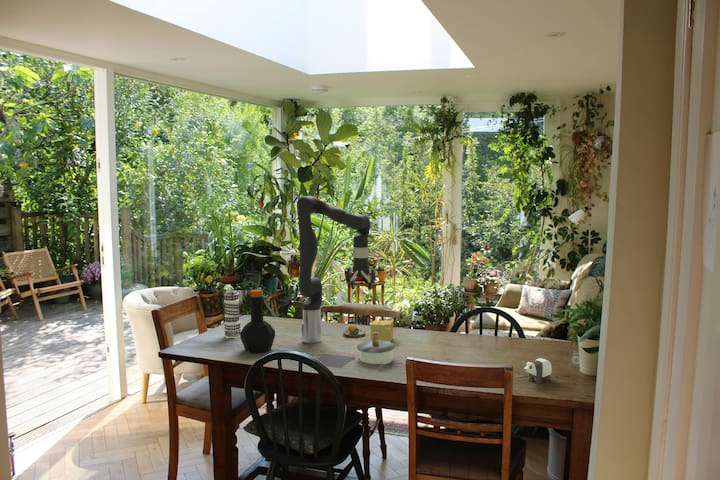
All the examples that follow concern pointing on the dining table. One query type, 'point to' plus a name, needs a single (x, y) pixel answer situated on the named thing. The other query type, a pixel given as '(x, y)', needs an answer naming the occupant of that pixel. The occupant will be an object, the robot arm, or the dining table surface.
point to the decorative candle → (231, 314)
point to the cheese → (383, 329)
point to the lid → (375, 345)
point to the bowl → (376, 357)
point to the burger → (353, 332)
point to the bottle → (257, 327)
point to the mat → (335, 360)
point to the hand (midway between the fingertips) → (361, 289)
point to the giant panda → (538, 370)
